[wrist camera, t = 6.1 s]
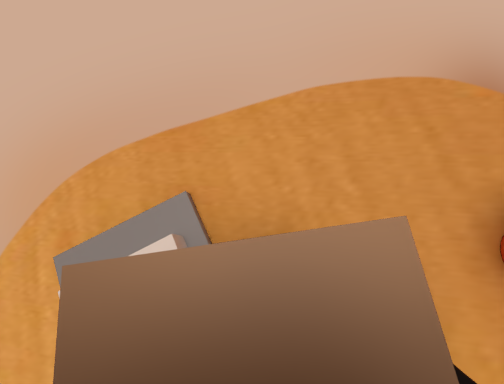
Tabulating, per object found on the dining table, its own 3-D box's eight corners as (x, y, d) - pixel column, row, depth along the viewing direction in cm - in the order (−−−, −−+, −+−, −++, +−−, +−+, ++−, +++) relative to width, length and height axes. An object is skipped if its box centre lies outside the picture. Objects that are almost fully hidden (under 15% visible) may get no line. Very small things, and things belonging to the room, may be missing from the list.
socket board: (272, 381, 20) (271, 410, 16) (116, 466, 19) (80, 514, 15) (189, 194, 24) (175, 183, 21) (63, 257, 24) (26, 257, 20)
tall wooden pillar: (317, 331, 14) (594, 818, 2) (236, 341, 15) (18, 831, 2) (301, 247, 16) (406, 215, 3) (227, 258, 16) (62, 266, 4)
